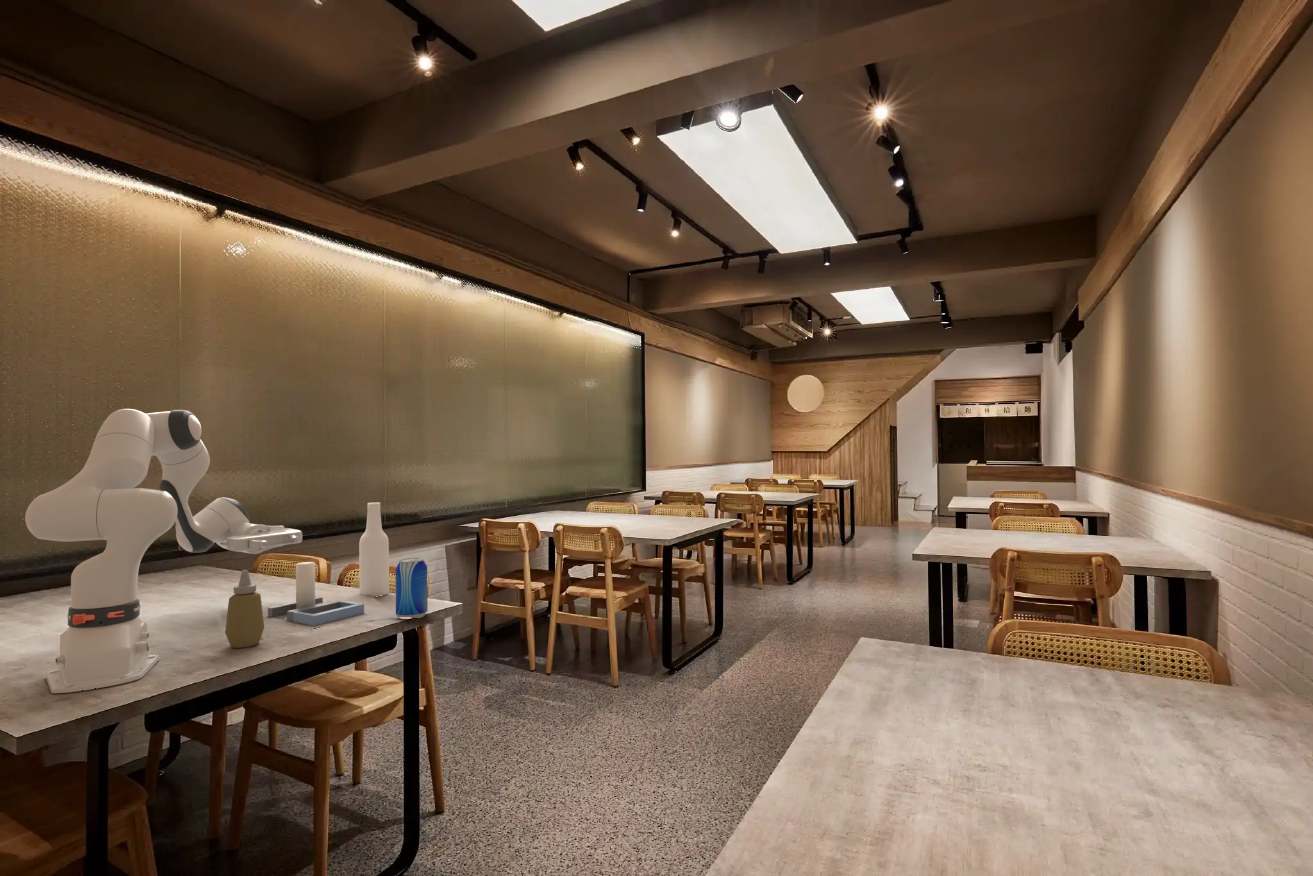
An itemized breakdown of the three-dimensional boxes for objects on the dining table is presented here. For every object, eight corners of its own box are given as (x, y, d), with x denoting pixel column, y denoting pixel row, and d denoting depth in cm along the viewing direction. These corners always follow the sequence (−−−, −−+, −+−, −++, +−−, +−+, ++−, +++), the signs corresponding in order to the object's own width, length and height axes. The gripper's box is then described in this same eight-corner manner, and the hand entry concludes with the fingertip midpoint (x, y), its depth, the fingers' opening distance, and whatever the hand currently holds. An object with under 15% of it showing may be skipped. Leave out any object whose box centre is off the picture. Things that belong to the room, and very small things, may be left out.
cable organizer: (365, 616, 186) (365, 604, 186) (314, 629, 173) (314, 616, 173) (317, 608, 197) (317, 596, 197) (266, 619, 184) (266, 607, 184)
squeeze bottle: (271, 643, 161) (270, 569, 161) (235, 652, 154) (235, 574, 154) (254, 638, 165) (253, 566, 165) (218, 646, 158) (218, 571, 159)
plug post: (316, 613, 187) (316, 563, 187) (297, 615, 184) (297, 565, 184) (313, 609, 190) (313, 561, 191) (294, 612, 188) (294, 563, 188)
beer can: (421, 620, 181) (420, 562, 181) (390, 620, 181) (390, 562, 181) (431, 612, 189) (431, 557, 190) (402, 613, 189) (402, 557, 190)
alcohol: (374, 598, 208) (373, 504, 209) (353, 597, 212) (352, 503, 212) (394, 593, 217) (394, 501, 217) (374, 591, 220) (373, 501, 220)
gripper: (217, 532, 191) (243, 535, 185) (286, 524, 209) (312, 527, 202) (217, 554, 191) (243, 558, 184) (286, 544, 209) (312, 548, 202)
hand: (280, 542), depth 194 cm, fingers open, 8 cm apart
